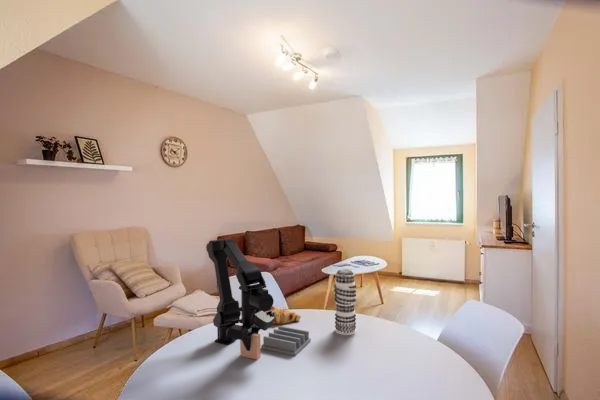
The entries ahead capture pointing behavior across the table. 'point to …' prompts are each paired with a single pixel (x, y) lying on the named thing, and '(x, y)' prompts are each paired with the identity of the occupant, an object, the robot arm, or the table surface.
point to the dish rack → (286, 340)
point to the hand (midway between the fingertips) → (250, 349)
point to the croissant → (284, 316)
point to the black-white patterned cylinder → (345, 302)
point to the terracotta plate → (251, 347)
